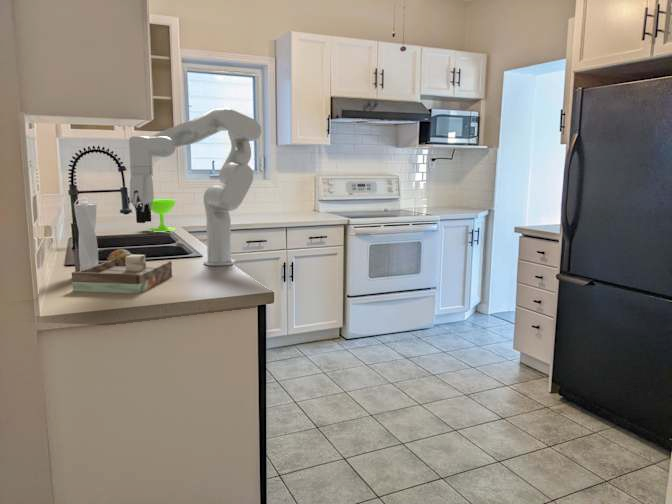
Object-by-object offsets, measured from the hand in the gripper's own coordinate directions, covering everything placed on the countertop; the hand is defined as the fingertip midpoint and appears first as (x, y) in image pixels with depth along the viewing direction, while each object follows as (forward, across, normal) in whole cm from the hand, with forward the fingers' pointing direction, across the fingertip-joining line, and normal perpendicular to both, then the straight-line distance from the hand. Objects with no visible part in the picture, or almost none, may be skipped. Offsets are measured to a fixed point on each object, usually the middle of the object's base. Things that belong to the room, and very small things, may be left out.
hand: (144, 221), depth 193 cm
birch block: (+16, +8, 0) cm, 18 cm away
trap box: (+19, +16, 0) cm, 25 cm away
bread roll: (+20, -15, -18) cm, 30 cm away
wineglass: (+19, -116, -44) cm, 125 cm away
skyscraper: (+19, +5, -20) cm, 28 cm away
